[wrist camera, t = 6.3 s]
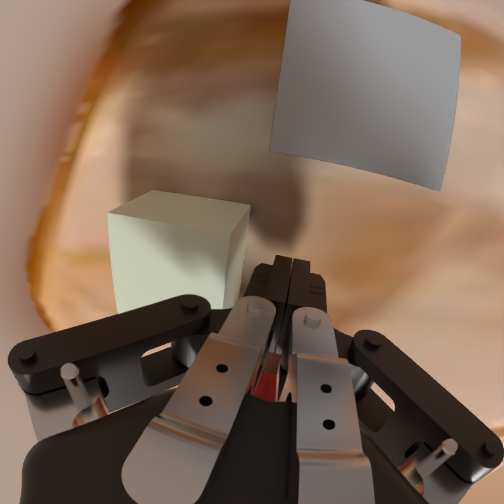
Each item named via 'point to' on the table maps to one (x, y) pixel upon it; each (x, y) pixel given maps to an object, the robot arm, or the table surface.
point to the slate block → (367, 89)
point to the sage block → (177, 249)
